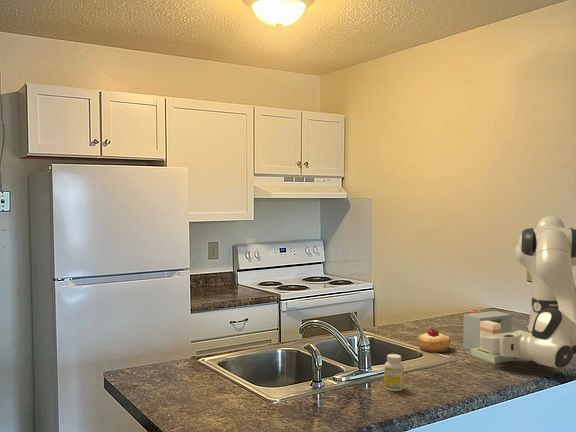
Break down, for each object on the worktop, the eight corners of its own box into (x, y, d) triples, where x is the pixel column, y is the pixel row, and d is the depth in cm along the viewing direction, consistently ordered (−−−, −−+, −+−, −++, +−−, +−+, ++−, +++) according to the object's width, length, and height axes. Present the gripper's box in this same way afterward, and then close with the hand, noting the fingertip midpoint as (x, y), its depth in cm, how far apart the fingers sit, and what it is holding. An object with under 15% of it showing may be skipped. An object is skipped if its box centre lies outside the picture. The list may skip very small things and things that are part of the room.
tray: (489, 353, 196) (489, 346, 196) (513, 361, 186) (513, 353, 186) (470, 355, 192) (470, 348, 192) (494, 364, 182) (494, 356, 182)
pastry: (417, 345, 208) (416, 322, 208) (449, 347, 205) (448, 323, 206) (418, 353, 196) (417, 328, 196) (452, 354, 194) (451, 329, 194)
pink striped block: (487, 348, 193) (487, 320, 193) (500, 352, 188) (500, 323, 188) (479, 349, 192) (479, 321, 191) (492, 353, 186) (493, 324, 186)
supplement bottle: (395, 392, 154) (396, 359, 154) (380, 388, 158) (380, 355, 158) (406, 388, 158) (407, 355, 157) (391, 384, 162) (391, 352, 161)
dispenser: (494, 343, 210) (495, 310, 210) (511, 348, 203) (511, 314, 202) (463, 347, 203) (463, 314, 203) (479, 353, 196) (479, 318, 196)
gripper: (544, 331, 181) (511, 323, 194) (500, 337, 173) (468, 328, 185) (544, 350, 182) (511, 341, 194) (499, 357, 173) (468, 347, 185)
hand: (490, 335), depth 190 cm, fingers closed on pink striped block, 4 cm apart
